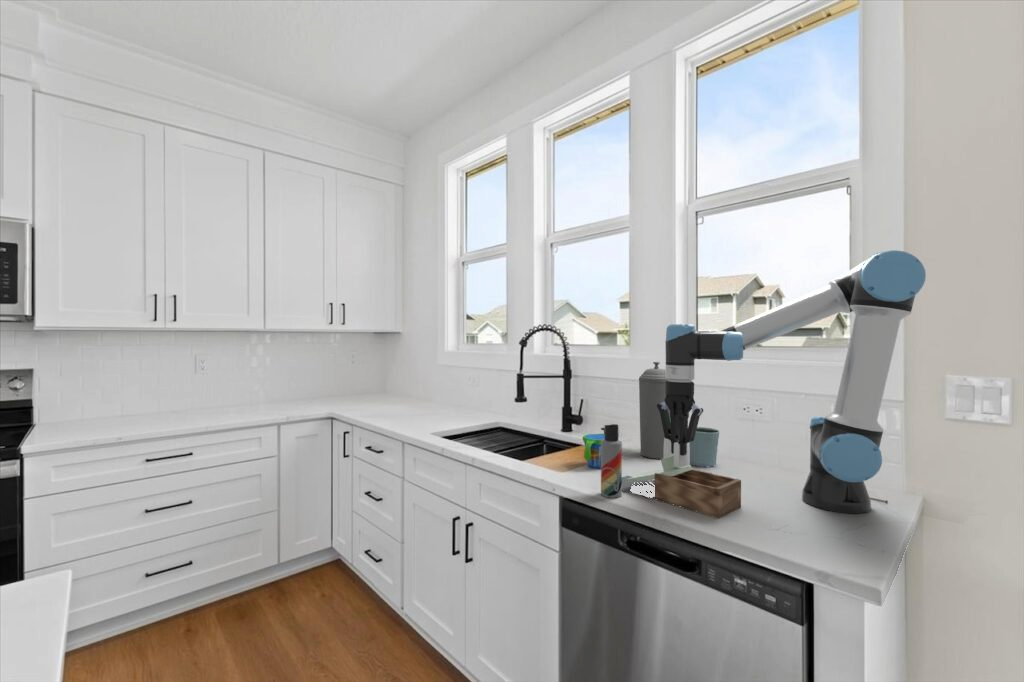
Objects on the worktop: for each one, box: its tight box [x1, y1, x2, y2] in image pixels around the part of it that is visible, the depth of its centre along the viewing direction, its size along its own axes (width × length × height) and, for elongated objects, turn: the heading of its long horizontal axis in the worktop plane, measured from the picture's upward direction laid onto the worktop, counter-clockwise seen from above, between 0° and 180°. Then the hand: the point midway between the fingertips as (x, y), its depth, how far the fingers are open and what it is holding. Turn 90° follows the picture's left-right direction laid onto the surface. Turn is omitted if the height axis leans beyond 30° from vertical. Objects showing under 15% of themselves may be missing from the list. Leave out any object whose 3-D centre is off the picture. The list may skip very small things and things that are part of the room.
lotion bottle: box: [600, 423, 623, 499], centre depth 136 cm, size 6×6×20 cm
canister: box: [638, 361, 670, 460], centre depth 180 cm, size 13×13×35 cm
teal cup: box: [689, 426, 720, 467], centre depth 169 cm, size 10×10×12 cm
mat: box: [622, 475, 655, 499], centre depth 144 cm, size 17×13×1 cm
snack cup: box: [582, 433, 605, 469], centre depth 166 cm, size 16×10×10 cm
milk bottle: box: [662, 415, 691, 470], centre depth 150 cm, size 8×8×20 cm
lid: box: [625, 455, 693, 484], centre depth 138 cm, size 16×10×5 cm, turn 40°
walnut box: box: [654, 468, 742, 519], centre depth 129 cm, size 18×12×7 cm, turn 40°
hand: (678, 466), depth 133 cm, fingers closed
